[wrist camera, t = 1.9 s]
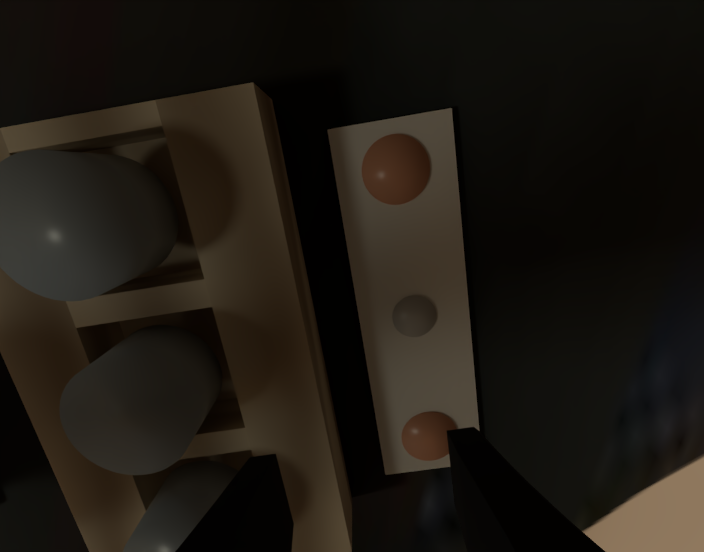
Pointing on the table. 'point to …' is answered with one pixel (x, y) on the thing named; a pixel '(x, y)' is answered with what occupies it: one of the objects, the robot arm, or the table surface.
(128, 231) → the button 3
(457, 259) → the pattern card
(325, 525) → the wooden tray
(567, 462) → the table surface
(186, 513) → the button
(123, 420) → the button
